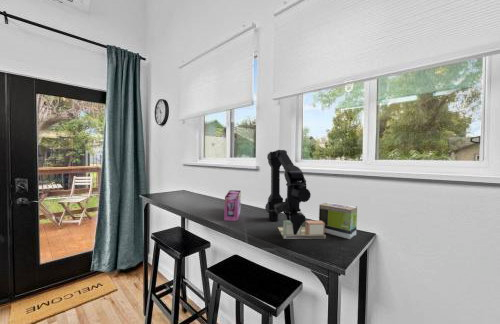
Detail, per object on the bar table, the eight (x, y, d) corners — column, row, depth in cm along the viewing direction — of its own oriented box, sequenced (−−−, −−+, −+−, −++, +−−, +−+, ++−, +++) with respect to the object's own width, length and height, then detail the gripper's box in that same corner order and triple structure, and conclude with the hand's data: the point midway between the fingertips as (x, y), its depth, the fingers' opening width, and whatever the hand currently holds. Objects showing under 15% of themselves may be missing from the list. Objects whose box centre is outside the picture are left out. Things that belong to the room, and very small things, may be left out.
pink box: (305, 234, 104) (305, 220, 103) (320, 234, 104) (321, 220, 104) (307, 237, 100) (308, 223, 99) (324, 237, 100) (324, 223, 100)
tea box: (356, 236, 106) (358, 206, 106) (349, 242, 99) (351, 210, 98) (326, 228, 116) (327, 200, 116) (317, 233, 109) (318, 204, 108)
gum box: (237, 221, 124) (237, 198, 123) (223, 221, 124) (223, 197, 124) (240, 210, 148) (241, 190, 147) (228, 210, 148) (229, 190, 148)
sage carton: (282, 234, 103) (283, 220, 103) (298, 234, 104) (299, 220, 103) (284, 237, 99) (285, 223, 99) (301, 237, 99) (301, 223, 99)
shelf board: (277, 229, 113) (277, 224, 113) (313, 229, 114) (314, 224, 114) (283, 242, 98) (284, 235, 97) (325, 241, 99) (326, 235, 99)
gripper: (272, 192, 109) (271, 223, 110) (279, 201, 90) (278, 239, 91) (294, 193, 110) (293, 223, 111) (306, 201, 91) (305, 238, 92)
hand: (292, 230), depth 101 cm, fingers open, 9 cm apart
